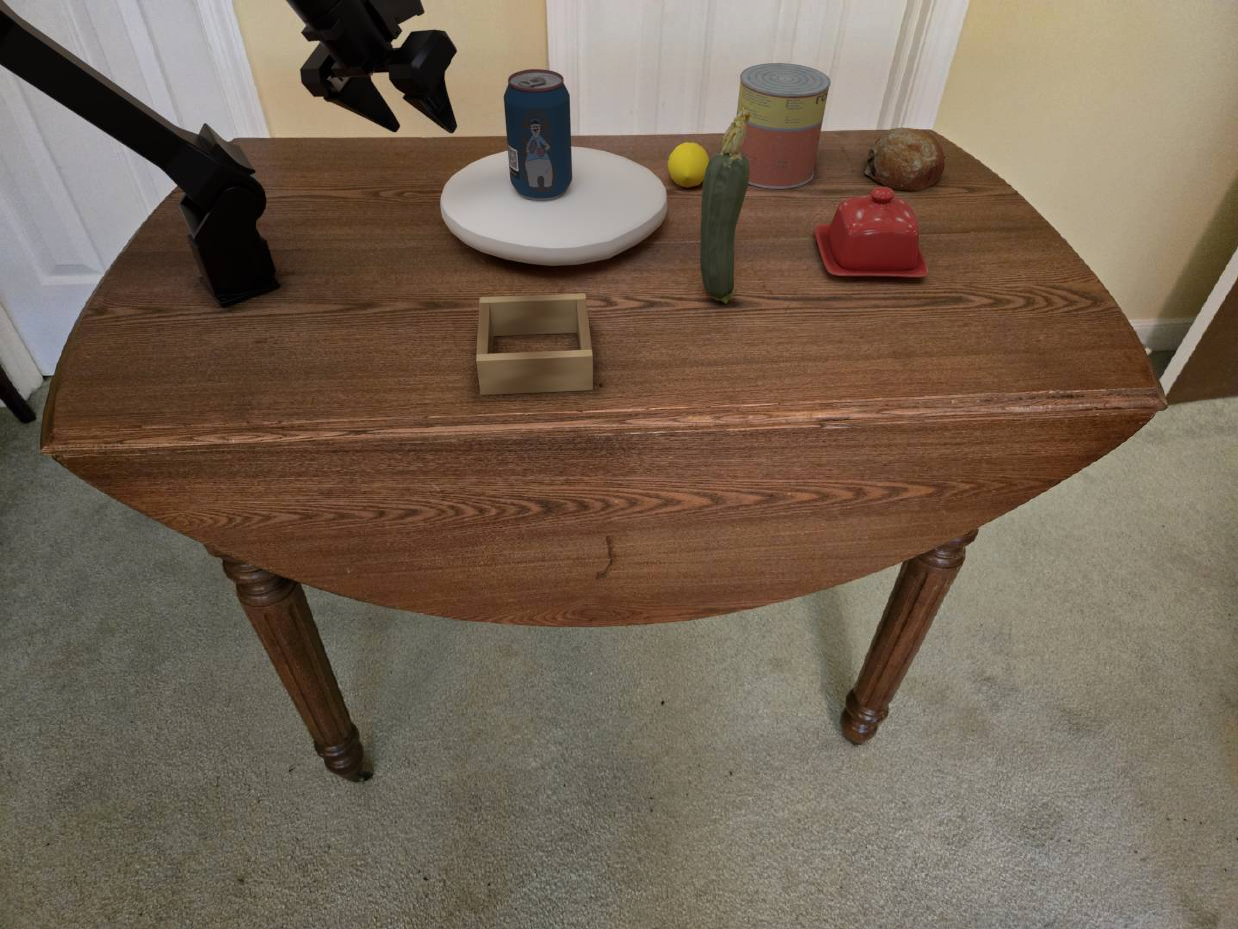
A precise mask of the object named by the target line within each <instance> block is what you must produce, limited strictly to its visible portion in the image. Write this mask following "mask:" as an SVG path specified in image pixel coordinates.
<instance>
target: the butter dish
mask: <svg viewBox="0 0 1238 929" xmlns="http://www.w3.org/2000/svg"><path fill="white" fill-rule="evenodd" d="M895 196H896V192H895V190H894V189H890V188H888V187H885V186H877V187H875V188H873V189H872V190H871V191H870V195H862V196H854V197H850V198H847V199H845V200H843V201H841V202H839V204H838V206H837V208H836V210H835V212H834V215H833V217H832V220H831V223H827V224H826V223H825V224H818V225H816V226H814V228H813V231H814V236H815V239H816V242H817V246H818V249H819V252H820V257H821V259H822V262H823V265H824V267H825V269H826V271H827V272H828V273H829V274H830V275H832V276H836V277H884V278H887V277H888V278H890V277H892V278H925V277H927V276H928V275H929V269H928V268H929V267H928V265H927V263H926V259H925V257H924V255H923V252H922V251H921V248H920V245H919V244H920V243H919V242H920V228H919V224H918V220H917V217H916V215H915V213H914V210H913V208H912V207H911V206H910V205H909V204H908V203H907V202H906V201H905V200H903V199H901V198H898V197H895Z"/></svg>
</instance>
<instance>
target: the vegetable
mask: <svg viewBox="0 0 1238 929" xmlns="http://www.w3.org/2000/svg"><path fill="white" fill-rule="evenodd" d="M750 114H751V113H750V111H749V110H747V109H746V107H743V108H742V111H741V112H739V114H737V113H736V116H735V117H734V118H733V122H730V125H729V126H728V127H727V128H726V130H725V132H724V135H723V137H722V139H721V149H720V150H718V151H716V152H715V153H714V154H713V156H711V158H709V163H708V165H707V168H706V171H705V175H704V180H703V181H702V182H703V183H702V192H701V193H702V194H701V195H702V196H701V205H700V206H701V210H700V211H701V213H700V214H701V216H700V255H699V262H700V264H699V265H700V271H701V272H700V273H701V279H702V285H703V288H704V290H705V292H706V293H707V294H708V295H709V296H711V298H712V299H713V300H715V301H716V302H719V301H720V302H722V303H723V304H728V302H729V301H732V300H733V297H734V288H735V237H736V236H735V235H736V229H737V224H738V221H739V217H740V214H741V210H742V207H743V204H744V201H745V197H746V193H747V190H748V186H749V184H748V182H749V172H750V169H749V163H748V160H747V158H746V157H745V156H744V154H743V153H741V152H740V151H739V149H740V147H742V145H743V143H744V139H745V134H746V124H747V121H749V119H750V116H751V115H750Z"/></svg>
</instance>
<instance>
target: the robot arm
mask: <svg viewBox="0 0 1238 929" xmlns="http://www.w3.org/2000/svg"><path fill="white" fill-rule="evenodd" d="M285 2H286V3H287V4H288V5H289V7H290V8H291V9H292V10H293V12H294V13H295V14H296V15H297V16H298V17H299V19H300V20H301V22H303V24H304V25H305V26H304V28H303V29H302V30H301V32H300V34H301V35H302V36H303V37H304V38H305V40H306V41H307V42H308V43H311V42H318V43H317V45H316V47H315V48H314V50H313V51H312V52H311V54H310V55H309V56H308V57H307V59H306V60H305V62H303V64H302V65H301V67H300V68H299V74H300V83H301V84H302V86H304V88H305V89H306V90H307V92H309V93H310V94H311V96H312V97H313V98H323V100H324V101H325V102H326V103H331V104H333V105H336V106H338V107H340V108H342V109H344V110H347V111H349V112H351V113H353V114H355V115H358V116H359V117H361V118H364V119H365V120H368V121H370V122H371V123H374V124H376V125H377V126H380V127H382V128H384V129H386V130H387V131H389V132H392V133H398V131H399V130H400V128H401V124H400V122H399V120H398V118H397V116H396V114H395V113H394V112H393V110H392V109H391V107H390V106H389V104H388V102H386V100H385V99H384V97H383V95H382V94H381V92H380V91H379V89H378V88H377V87H376V84H374V82H373V80H372V76H373V75H374V74H384V73H387V74H388V80H389V82H390V83H391V84H392V86H393V87H394V89H396V90H397V91H399V92H400V93H402V94H404V95H403V96H402V100H403V101H405V102H406V103H407V104H409V105H410V106H412V107H413V108H414V109H416V111H418V112H419V113H421V114H422V115H424V116H425V117H426V118H427V119H429V120H430V121H432V122H433V123H434V124H435V125H437V126H438V127H439V128H441V129H443V130H444V131H445V132H447V133H449V134H454V133H455V131H456V130H457V129H458V123H457V119H456V117H455V112H454V109H453V106H452V103H451V99H450V97H449V93H448V92H449V91H448V89H447V82H446V71H447V70H448V68H449V67H450V65H451V64H452V60H453V59H454V57H455V55H456V54H457V52H458V49H457V47H456V45H455V43H454V41H453V40H452V39H451V37H450V36H449V34H448V33H447V31H446V30H443V29H435V28H434V29H423V30H413V31H410V32H409V34H408V35H407V37H406V38H405V39H404V41H403V42H402V44H401V45H400V47H394V46H393V44H392V43H393V41H395V40H397V39H398V38H399V37H400V35H401V34H402V32H403V29H402V27H401V26H400V25H401V24H403V23H404V22H406V21H409V20H410V19H413V18H414V17H416V16H417V17H421V16H422V15H424V14H425V12H426V10H425V8H424V6H423V3H422V0H285ZM0 66H1V67H3V68H4V69H6V70H8V71H9V72H11V73H12V74H14V75H15V76H17V77H18V78H20V79H22V80H23V81H25V82H26V83H28V84H29V85H31V86H32V87H34V88H35V89H37V90H39V91H40V92H42V93H43V94H44V95H46V96H48V97H49V98H51V99H52V100H54V101H56V102H57V103H59V104H60V105H61V106H63V107H65V108H66V109H68V110H69V111H71V112H73V113H74V114H75V115H77V116H78V117H80V118H82V119H83V120H85V121H86V122H88V123H90V124H91V125H93V126H94V127H96V128H97V129H98V130H100V131H102V132H103V133H105V134H106V135H108V136H109V137H111V138H112V139H114V140H116V141H117V142H119V143H120V144H123V146H125V147H126V148H128V149H130V150H131V151H132V152H134V153H135V154H137V155H139V156H140V157H142V158H144V159H145V160H147V161H148V162H149V163H152V164H153V165H154V166H156V167H157V168H159V170H161V171H162V172H163V173H164V174H165V175H166V176H167V177H168V178H169V179H170V180H171V182H173V183H174V184H175V185H176V186H177V187H178V188H179V189H180V190H181V191H182V192H183V193H184V194H183V195H182V197H181V199H180V200H179V202H178V204H177V206H178V208H179V210H180V213H181V215H182V217H183V219H184V222H185V223H186V226H187V228H188V230H189V232H190V233H189V234H186V239H187V241H188V244H189V247H190V249H191V252H192V255H193V257H194V260H195V263H196V265H197V268H198V270H199V272H200V277H198V280H199V283H200V284H201V286H202V287H203V288H204V289H205V290H206V292H208V293H209V295H210V297H212V298H213V299H214V300H215V302H216V303H217V304H218V305H219V306H220V307H227V306H229V305H232V304H236V303H237V302H241V301H245V300H246V299H250V298H252V297H255V296H257V295H261V294H264V293H266V292H269V291H272V290H275V289H278V288H279V287H281V284H280V281H279V280H278V278H276V276H274V275H276V273H277V269H276V266H275V263H274V260H273V257H272V253H271V249H270V246H269V244H268V241H267V239H266V238H265V237H264V236H262V234H261V233H260V232H259V229H258V228H257V221H258V220H259V219H260V218H261V217H262V216H263V214H264V213H265V210H266V208H267V207H266V206H267V202H268V200H267V194H266V190H265V189H264V187H263V185H262V183H261V182H260V180H259V179H258V177H257V176H256V173H257V171H256V168H254V166H253V164H252V163H251V161H250V160H249V158H248V157H247V155H246V153H245V152H244V151H243V149H242V147H241V146H240V145H238V144H234V143H232V142H229V141H227V140H225V139H224V138H223V137H222V136H220V135H219V133H218V132H216V131H215V130H214V128H212V127H211V126H210V124H208V123H206V122H204V123H203V124H202V126H201V128H200V130H199V133H195V132H193V131H191V130H187V129H184V128H181V127H179V126H178V125H176V124H174V123H172V122H171V121H170V120H168V119H167V118H165V117H164V116H162V115H161V114H160V113H158V112H157V111H155V110H154V109H152V108H151V107H149V106H148V105H147V104H145V103H144V102H143V101H141V100H139V99H138V98H137V97H135V96H134V95H132V94H131V93H130V92H128V91H127V90H126V89H124V88H122V87H121V86H119V85H118V84H117V83H115V81H114V82H113V80H112V79H109V78H108V77H107V76H105V75H104V74H103V73H101V72H100V71H98V70H97V69H95V68H94V67H92V65H89V63H87V62H85V61H84V60H82V59H81V58H80V57H78V56H77V55H75V54H74V53H72V52H71V51H69V50H68V49H67V48H65V47H64V46H63V45H61V44H60V43H58V42H57V41H55V40H54V39H53V38H51V37H50V36H48V35H47V34H45V33H44V32H43V31H41V30H40V29H38V28H37V27H35V26H34V25H32V24H31V23H30V22H28V21H27V20H25V19H24V18H22V16H20V15H19V14H18V13H16V12H15V11H14V9H12V8H11V7H10V6H9V4H7V3H6V1H4V0H0Z"/></svg>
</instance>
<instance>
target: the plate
mask: <svg viewBox="0 0 1238 929" xmlns="http://www.w3.org/2000/svg"><path fill="white" fill-rule="evenodd" d="M571 153H572V181H571V183H570V185H569V187H568V189H567V190H566V192H565V194H563V195H562V196H561V197H558V198H556V199H552V200H546V201H536V200H530V199H526V198H524V197H522V196H521V195H519V193H518V192H517V191H516V189H515V188H514V186H513V185H512V183H511V181H510V171H509V158H508V150H505V151H501V152H498V153H493V154H491V155H487V156H485V157H482V158H480V159H477V160H475V161H473V162H471V163H469V164H467V165H466V166H464V167H463V168H462V169H460V170H459V171H457V172H456V173H454V174H453V175H452V176H451V177H450V178H449V179H448V180H447V182H446V183H445V184H444V186H443V189H442V193H441V195H440V201H439V202H440V203H439V206H440V212H441V213H440V214H441V219H442V220H443V222H444V224H445V225H446V227H447V228H448V230H449V231H450V232H451V233H452V234H453V235H454V236H455V237H456V238H457V239H459V241H461V242H462V243H463V244H465V245H466V246H468V247H471V248H472V249H475V250H476V251H479V252H480V253H483V254H487V255H490V256H494V257H497V258H500V259H504V260H507V261H513V262H517V263H523V264H529V265H538V266H550V267H557V266H577V265H583V264H589V263H593V262H598V261H599V262H600V261H604V260H609V259H611V258H612V257H614V256H617V255H619V254H621V253H623V252H625V251H627V250H628V249H630V248H632V247H634V246H636V245H637V244H639V243H641V242H642V241H643V240H645V239H647V238H648V237H649V236H650V235H652V234H653V233H654V232H655V231H656V230H657V229H659V227H660V226H661V225H663V222H664V220H665V218H666V215H667V213H668V194H667V188H666V186H665V185H664V183H663V181H662V180H661V179H660V178H659V177H658V176H657V175H655V173H654V172H652V171H651V169H649V168H648V167H645V166H643V165H641V164H639V163H637V162H635V161H633V160H631V159H629V158H627V157H625V156H622V155H618V154H615V153H613V152H608V151H606V150H601V149H596V148H590V147H584V146H583V147H582V146H572V145H571Z"/></svg>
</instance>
